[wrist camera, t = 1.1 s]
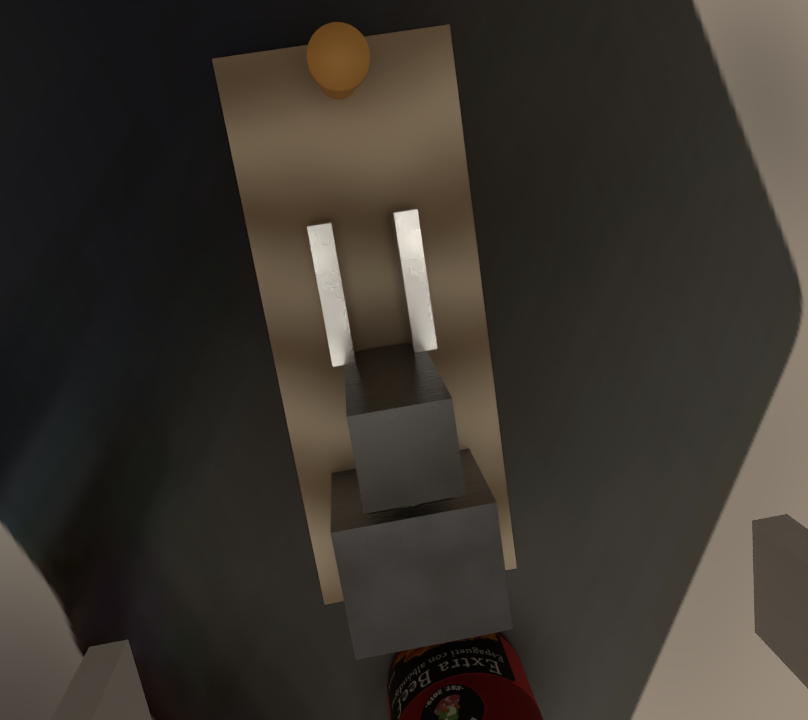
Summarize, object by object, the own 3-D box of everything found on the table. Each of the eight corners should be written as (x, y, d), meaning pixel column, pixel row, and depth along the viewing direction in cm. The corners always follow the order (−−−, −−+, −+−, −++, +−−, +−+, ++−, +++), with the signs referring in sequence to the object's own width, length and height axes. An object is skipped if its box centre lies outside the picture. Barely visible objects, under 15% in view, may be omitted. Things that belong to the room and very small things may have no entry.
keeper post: (307, 55, 29) (301, 27, 24) (359, 47, 29) (364, 17, 24) (316, 110, 29) (312, 94, 24) (368, 102, 29) (374, 85, 24)
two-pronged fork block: (308, 224, 30) (297, 239, 21) (412, 207, 30) (442, 216, 22) (377, 596, 35) (390, 731, 26) (466, 579, 35) (508, 708, 26)
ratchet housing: (331, 472, 33) (330, 532, 28) (469, 448, 34) (496, 502, 28) (352, 581, 35) (355, 659, 29) (484, 556, 35) (512, 629, 29)
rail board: (218, 64, 30) (211, 58, 28) (444, 31, 30) (449, 24, 29) (325, 588, 37) (324, 604, 35) (509, 553, 37) (516, 568, 36)
